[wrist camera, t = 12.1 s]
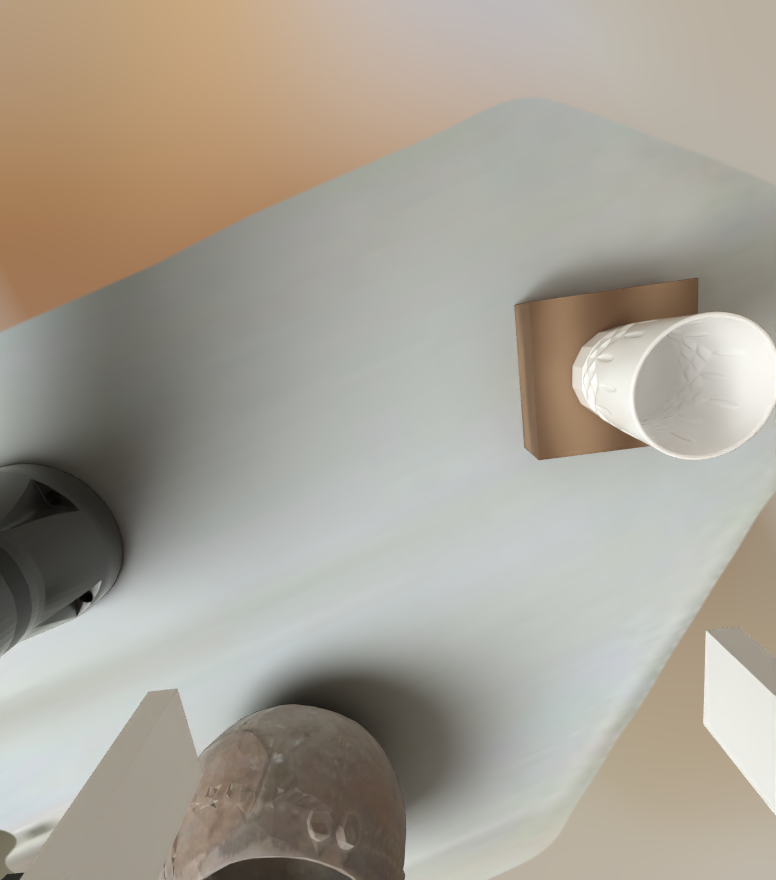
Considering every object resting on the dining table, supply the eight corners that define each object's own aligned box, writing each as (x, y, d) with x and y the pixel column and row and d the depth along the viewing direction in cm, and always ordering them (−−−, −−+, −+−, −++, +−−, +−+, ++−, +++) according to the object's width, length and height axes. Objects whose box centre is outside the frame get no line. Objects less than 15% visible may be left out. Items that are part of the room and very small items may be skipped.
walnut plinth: (524, 447, 39) (538, 460, 35) (514, 305, 36) (528, 302, 32) (664, 429, 39) (695, 440, 35) (665, 283, 36) (698, 277, 32)
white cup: (627, 294, 32) (727, 277, 22) (690, 375, 33) (812, 392, 24) (541, 370, 34) (600, 385, 24) (605, 445, 35) (686, 488, 25)
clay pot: (352, 637, 44) (331, 790, 29) (436, 792, 48) (454, 993, 33) (168, 709, 46) (62, 884, 31) (263, 851, 50) (209, 1063, 36)
